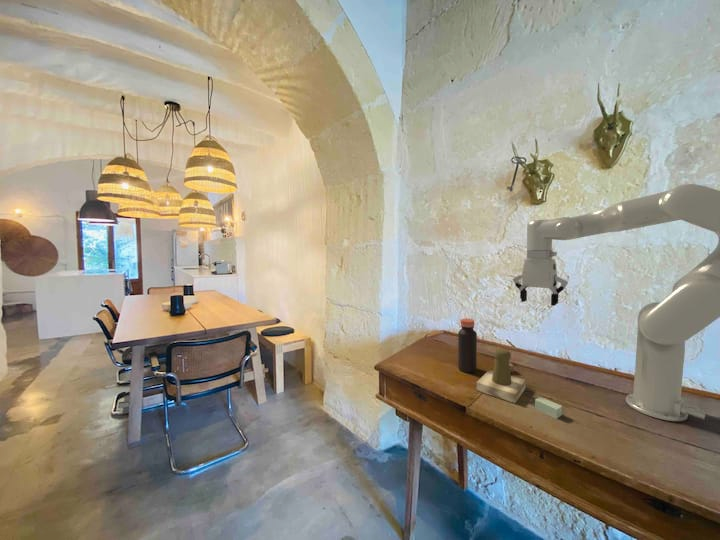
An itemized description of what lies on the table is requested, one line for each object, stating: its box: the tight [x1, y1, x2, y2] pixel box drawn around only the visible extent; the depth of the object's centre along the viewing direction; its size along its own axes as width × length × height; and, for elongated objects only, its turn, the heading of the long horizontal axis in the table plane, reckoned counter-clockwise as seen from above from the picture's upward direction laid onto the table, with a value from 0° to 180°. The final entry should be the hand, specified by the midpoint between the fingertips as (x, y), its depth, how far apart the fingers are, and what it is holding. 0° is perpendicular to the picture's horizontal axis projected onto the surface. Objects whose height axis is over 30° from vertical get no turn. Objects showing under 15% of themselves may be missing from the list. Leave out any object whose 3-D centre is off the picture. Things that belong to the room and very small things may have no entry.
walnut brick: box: [494, 362, 515, 374], centre depth 110 cm, size 6×3×3 cm, turn 85°
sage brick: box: [534, 396, 563, 419], centre depth 84 cm, size 6×3×3 cm, turn 30°
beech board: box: [476, 369, 526, 404], centre depth 97 cm, size 12×12×3 cm
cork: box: [492, 348, 512, 385], centre depth 97 cm, size 6×6×11 cm
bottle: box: [457, 318, 478, 374], centre depth 112 cm, size 7×7×20 cm
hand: (538, 303), depth 102 cm, fingers open, 9 cm apart
